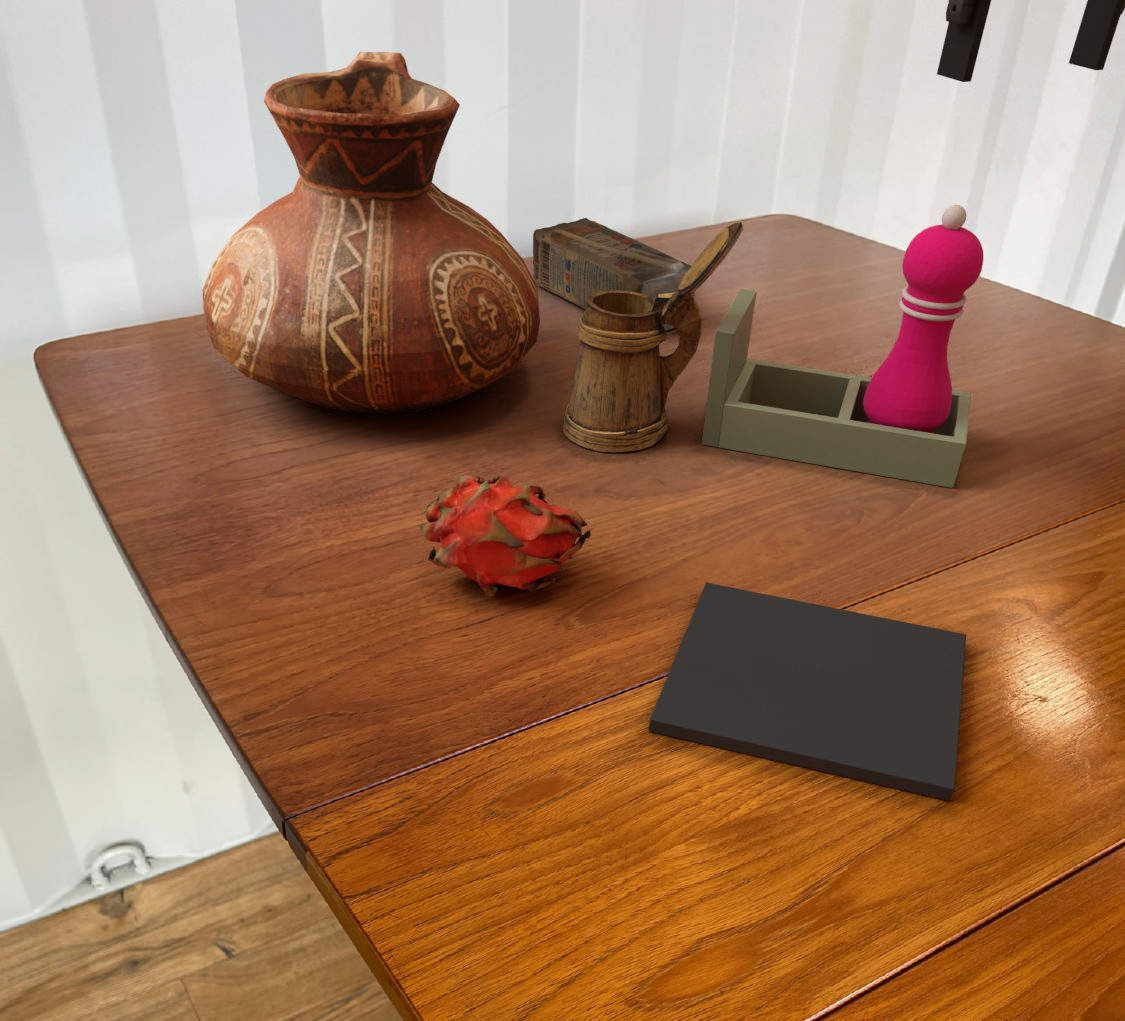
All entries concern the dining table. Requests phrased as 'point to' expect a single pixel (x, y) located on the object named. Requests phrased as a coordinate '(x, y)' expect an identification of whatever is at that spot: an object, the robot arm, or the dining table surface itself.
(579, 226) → the beverage carton
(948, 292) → the pepper mill
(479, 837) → the dining table surface
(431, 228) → the jug
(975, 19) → the robot arm
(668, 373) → the wooden mug
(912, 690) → the mat
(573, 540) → the dragon fruit
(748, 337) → the spice rack
